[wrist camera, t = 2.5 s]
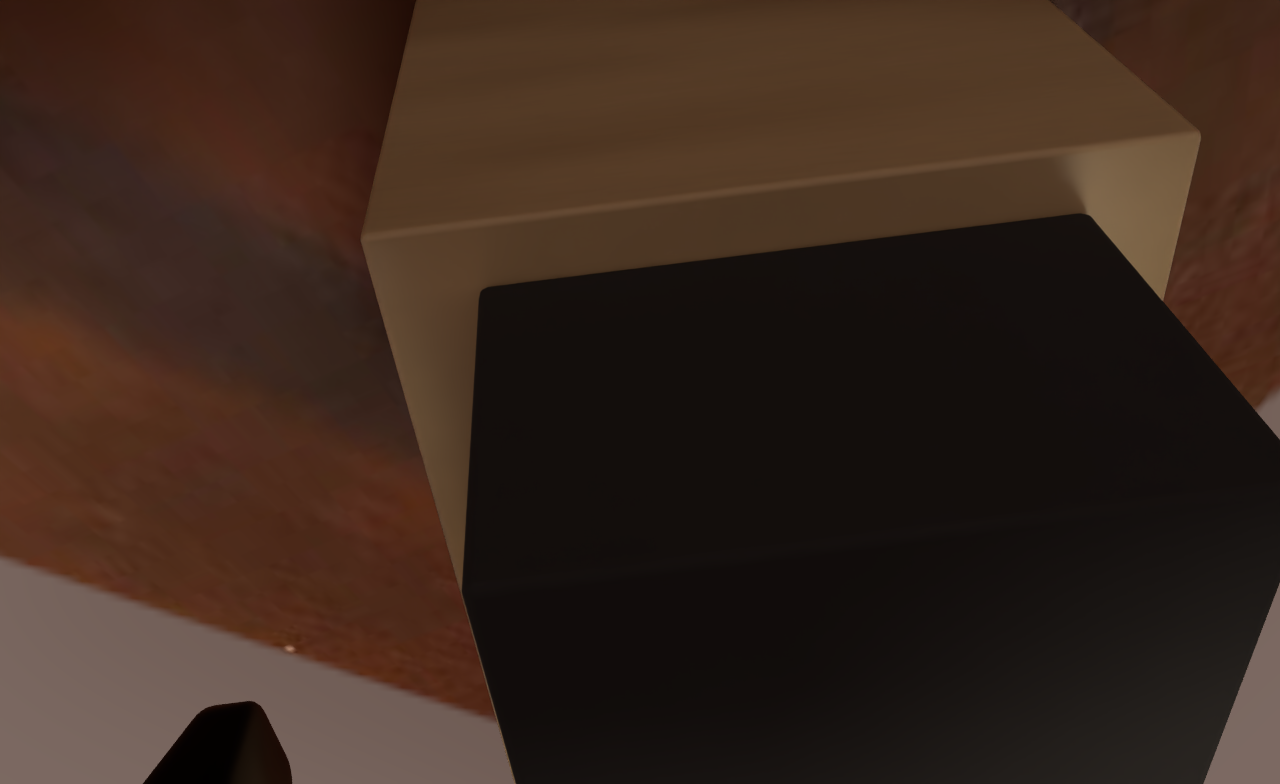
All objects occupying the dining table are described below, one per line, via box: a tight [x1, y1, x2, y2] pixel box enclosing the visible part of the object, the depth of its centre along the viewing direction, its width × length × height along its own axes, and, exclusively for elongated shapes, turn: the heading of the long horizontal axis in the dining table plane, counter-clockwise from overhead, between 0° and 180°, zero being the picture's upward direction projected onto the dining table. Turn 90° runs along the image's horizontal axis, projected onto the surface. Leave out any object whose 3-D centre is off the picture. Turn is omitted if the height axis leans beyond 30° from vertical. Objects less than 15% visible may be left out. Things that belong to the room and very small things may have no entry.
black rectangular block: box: [462, 213, 1280, 784], centre depth 9 cm, size 6×4×3 cm
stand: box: [360, 0, 1201, 784], centre depth 12 cm, size 7×6×6 cm
